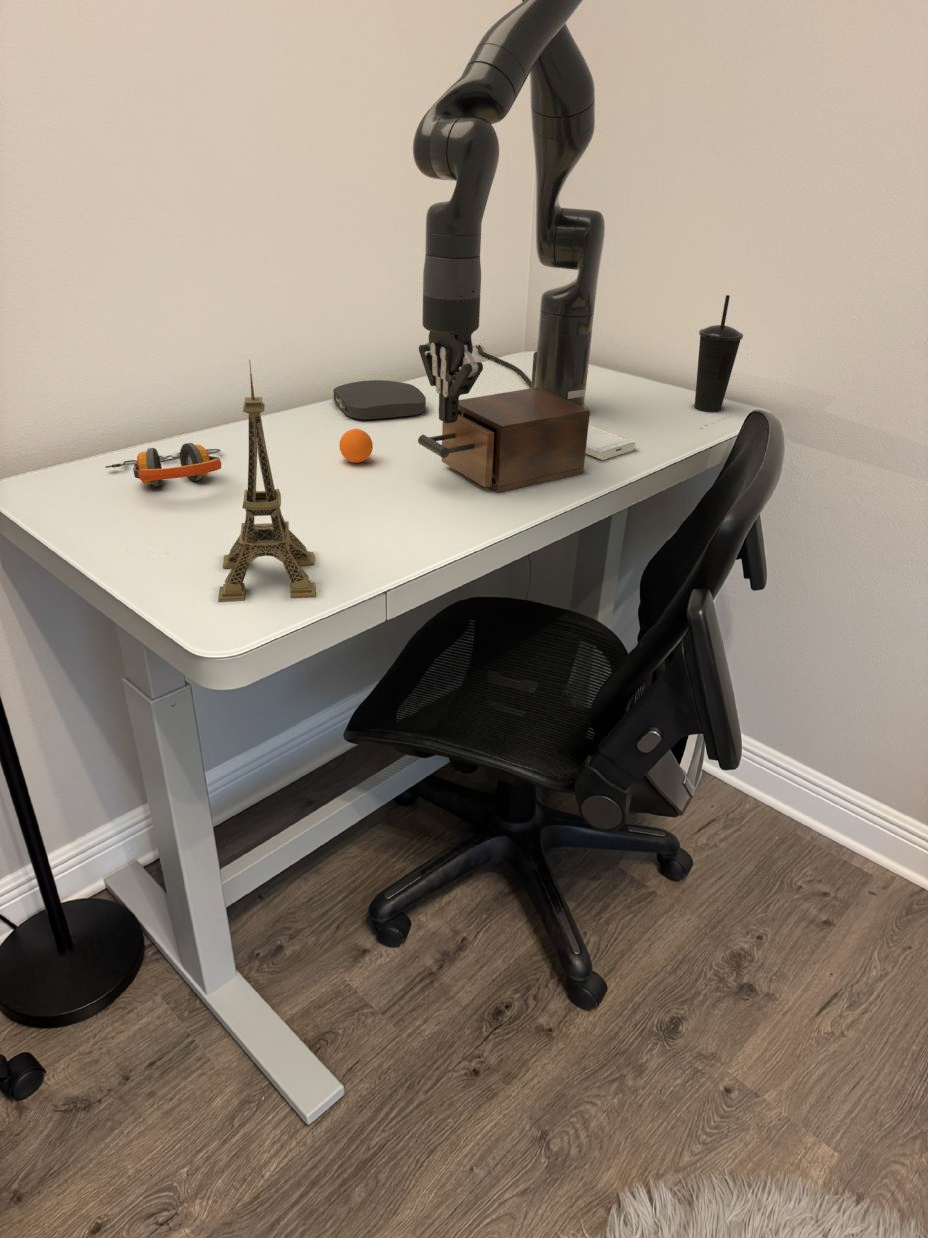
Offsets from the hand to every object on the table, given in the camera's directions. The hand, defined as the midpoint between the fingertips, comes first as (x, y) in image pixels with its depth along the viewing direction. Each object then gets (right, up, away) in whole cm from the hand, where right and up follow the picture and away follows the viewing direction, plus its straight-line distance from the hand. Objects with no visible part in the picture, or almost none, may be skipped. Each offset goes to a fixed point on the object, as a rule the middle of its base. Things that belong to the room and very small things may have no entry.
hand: (448, 420), depth 125 cm
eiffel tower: (-20, -23, -21) cm, 37 cm away
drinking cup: (+48, +11, +41) cm, 64 cm away
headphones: (-39, -8, +3) cm, 40 cm away
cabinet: (+10, -5, +11) cm, 16 cm away
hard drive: (+23, +1, +22) cm, 31 cm away
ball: (-14, -2, +10) cm, 17 cm away
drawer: (+6, -5, +8) cm, 11 cm away
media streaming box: (-13, +10, +35) cm, 38 cm away
